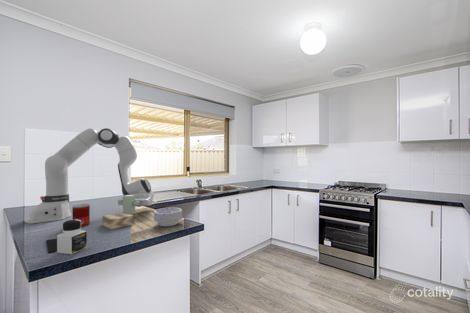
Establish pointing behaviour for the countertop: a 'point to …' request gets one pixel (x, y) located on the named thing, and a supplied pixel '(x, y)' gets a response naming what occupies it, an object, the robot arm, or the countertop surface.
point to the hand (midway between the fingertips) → (128, 203)
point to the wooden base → (118, 220)
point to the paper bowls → (167, 216)
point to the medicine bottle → (71, 238)
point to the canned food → (81, 213)
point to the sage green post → (128, 204)
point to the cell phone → (52, 245)
